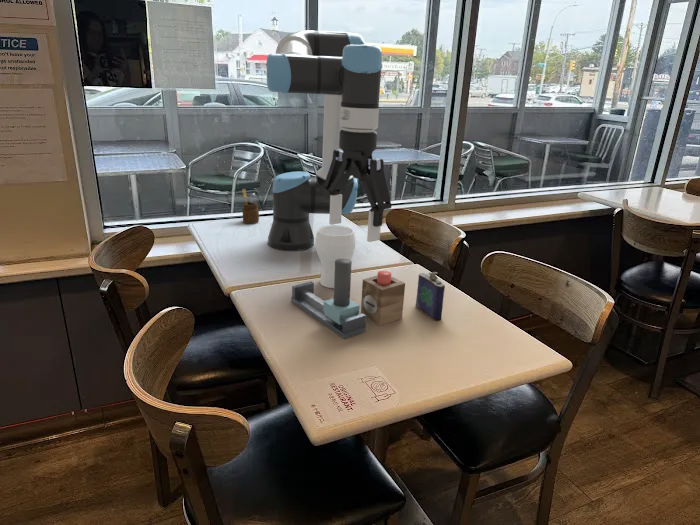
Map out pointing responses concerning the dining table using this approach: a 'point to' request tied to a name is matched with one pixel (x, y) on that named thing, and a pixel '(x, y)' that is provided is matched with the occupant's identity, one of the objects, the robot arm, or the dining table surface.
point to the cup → (333, 249)
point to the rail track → (314, 307)
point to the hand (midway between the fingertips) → (353, 231)
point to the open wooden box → (382, 300)
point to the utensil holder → (250, 211)
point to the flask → (430, 295)
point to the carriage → (341, 294)
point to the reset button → (384, 278)
